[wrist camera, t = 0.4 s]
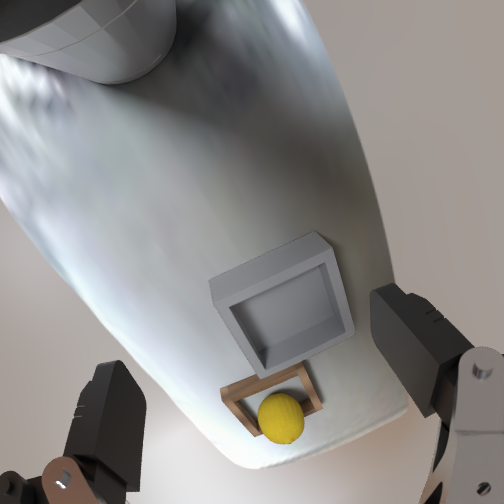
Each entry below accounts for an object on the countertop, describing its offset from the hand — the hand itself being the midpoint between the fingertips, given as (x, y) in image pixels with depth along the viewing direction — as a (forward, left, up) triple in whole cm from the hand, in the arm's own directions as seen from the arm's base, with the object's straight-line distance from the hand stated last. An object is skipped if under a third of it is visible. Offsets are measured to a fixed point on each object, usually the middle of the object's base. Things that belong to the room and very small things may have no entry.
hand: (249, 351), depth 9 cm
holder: (+13, +2, -19) cm, 23 cm away
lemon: (+27, -4, -19) cm, 33 cm away
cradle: (+27, -4, -19) cm, 33 cm away
